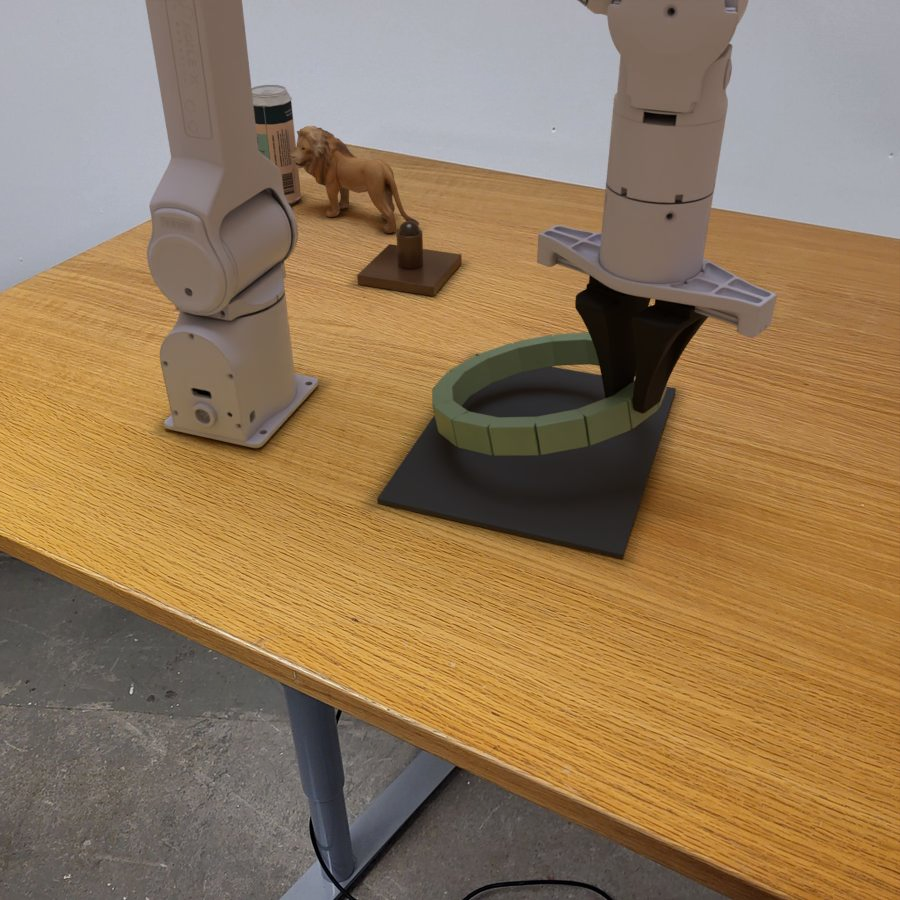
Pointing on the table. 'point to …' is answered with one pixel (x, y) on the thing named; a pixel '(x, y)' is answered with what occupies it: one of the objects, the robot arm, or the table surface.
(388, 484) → the mat
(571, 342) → the ring
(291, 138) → the beer can
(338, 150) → the lion figurine
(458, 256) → the peg stand
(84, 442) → the table surface
